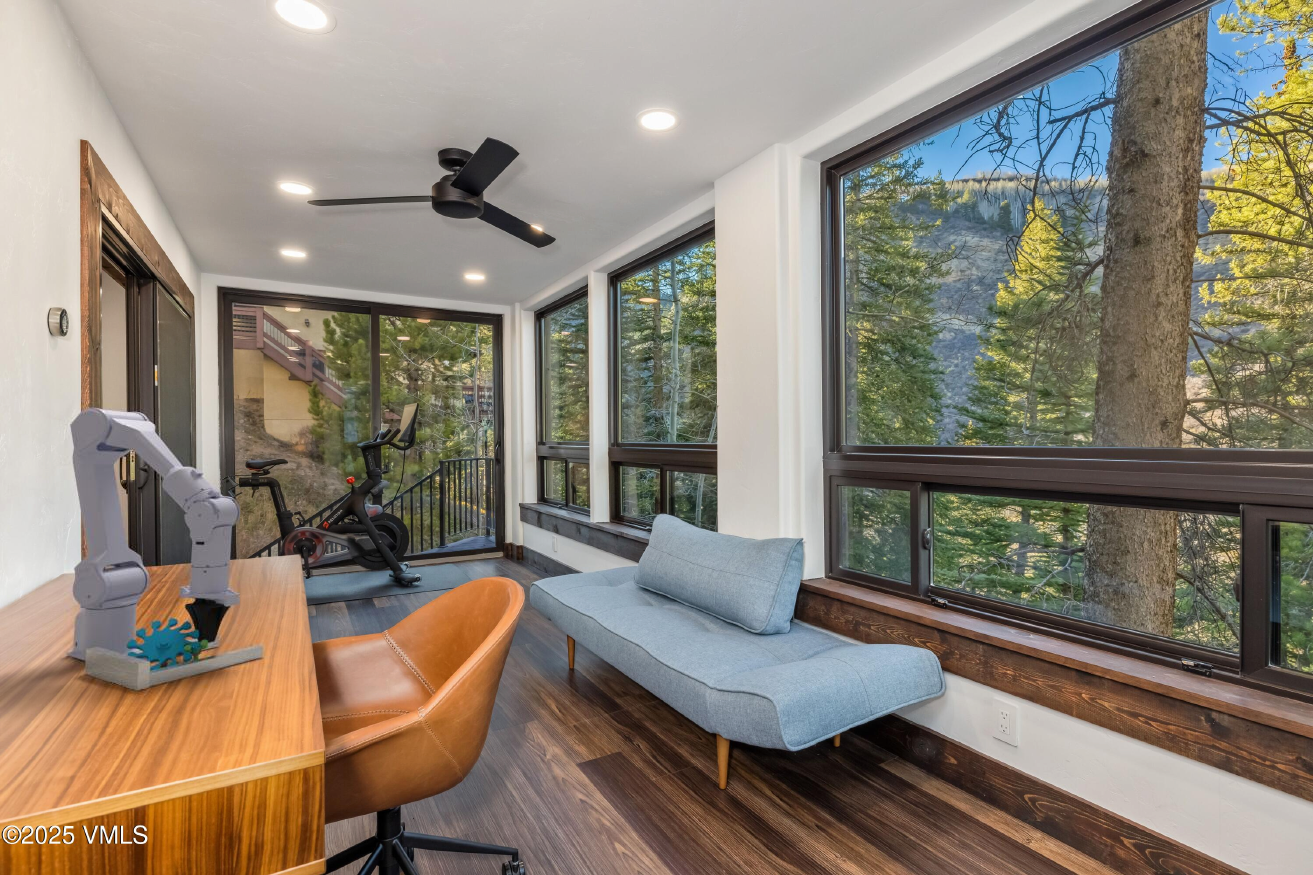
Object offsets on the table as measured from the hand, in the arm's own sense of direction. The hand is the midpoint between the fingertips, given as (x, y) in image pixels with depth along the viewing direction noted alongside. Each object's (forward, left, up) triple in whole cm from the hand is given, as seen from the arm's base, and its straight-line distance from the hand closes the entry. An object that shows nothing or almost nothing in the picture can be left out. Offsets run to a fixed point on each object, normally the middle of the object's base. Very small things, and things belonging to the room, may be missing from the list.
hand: (206, 642), depth 113 cm
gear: (-1, -6, -3) cm, 7 cm away
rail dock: (0, -4, -3) cm, 5 cm away
